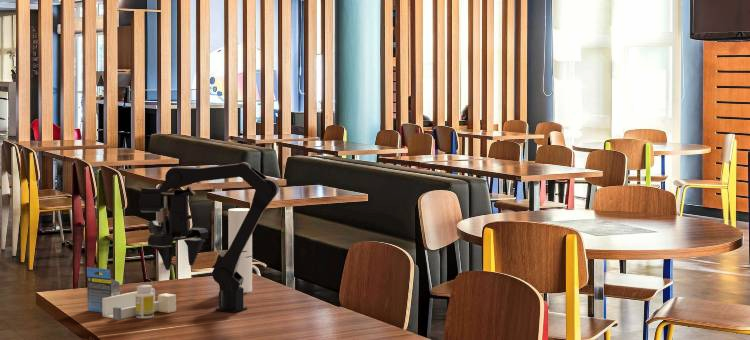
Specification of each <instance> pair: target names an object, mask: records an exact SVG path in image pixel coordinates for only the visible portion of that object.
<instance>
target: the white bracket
mask: <svg viewBox="0 0 750 340" xmlns="http://www.w3.org/2000/svg"><path fill="white" fill-rule="evenodd" d="M151 292H152V293H153V295H154V313H155V312H161V313H165V314H166V313H168V314H169V313H173V312H176V311H177V295H176V294H173V293H167V292H165V293H160V294H157V301H156V288H153V287H152V291H151ZM136 293H138V292H137V290H136V291H132V292H126V293H122V294H121V293H120V295H116V296H111V297H106V298H102V315H101V316H102V317H103V318H108V319H109V318H110V319H112V320H114V321H115V320H116V321H121V320H125V319H128V318H133V317H136V298H135V296H136Z"/></svg>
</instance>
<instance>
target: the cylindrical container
mask: <svg viewBox="0 0 750 340" xmlns="http://www.w3.org/2000/svg"><path fill="white" fill-rule="evenodd" d="M249 209H250V208H246V207H245V208H244V207H242V208H241V207H237V208H229V209H227V210H228V212H227V214H228V218H227V220H228V221H227V222H228V223H227V224H228V236H227V237H228V240H227V241H228V243H227V244H228V249H227V251H228V250H229V248H230V246H231V244H232V242H233V240H234V238H235V236H236V234H237V232H238V231H239V229H240V227H241V225H242V223H243V221H244V219H245V217H246V215H247V213H248V211H249ZM237 272H238V273H239V274H240V275H241V276H242V277H243V278H244V280H243V283H242V285H241V286H240V287H242V288H243V294H247V293H252V291H253V233H252V234H251V236H250V238H249V240H248V242H247V244H246V246H245V248H244V250H243V252H242V254H241V257H240V261H239V264H238V268H237Z"/></svg>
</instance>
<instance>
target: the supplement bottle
mask: <svg viewBox="0 0 750 340" xmlns="http://www.w3.org/2000/svg"><path fill="white" fill-rule="evenodd" d="M152 288H153V286H152V285H150V284H140V285H136V291H137V292H138V293H136V296H135V298H136V316H135V318H137V319H152V318H154V314H155V312H154V295H153V293H152V292H151V291H152Z"/></svg>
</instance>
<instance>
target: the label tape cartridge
mask: <svg viewBox="0 0 750 340" xmlns="http://www.w3.org/2000/svg"><path fill="white" fill-rule="evenodd" d="M98 272H99V274H96V273H98ZM111 276H112V275H111V269H106V268H105V269H104V268H98V267H89V266H86V287H87V288H86V290H87V292H86V294H87V297H86V298H87V312H94V313H102V298H106V297H111V296H116V295H121V291H120V289H121V286H120V283H121V282H120V281H117V280H116V279H113V278H112V277H111Z"/></svg>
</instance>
